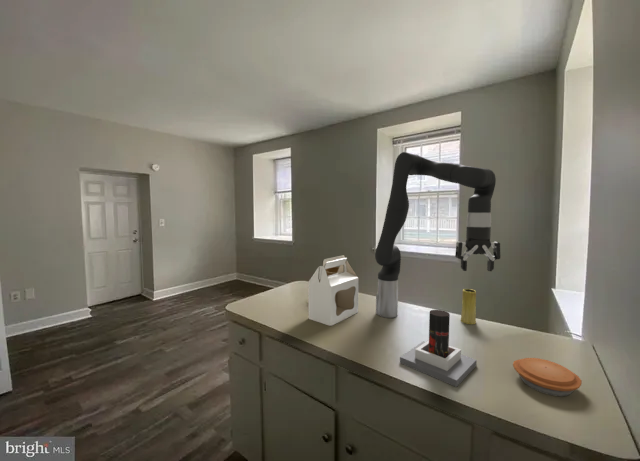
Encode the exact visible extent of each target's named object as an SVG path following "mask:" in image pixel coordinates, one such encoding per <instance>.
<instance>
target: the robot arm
mask: <svg viewBox="0 0 640 461" xmlns="http://www.w3.org/2000/svg"><path fill="white" fill-rule="evenodd" d="M393 168H394V169H393V177H392V185H391V190H390V193H389V199H388V202H387V207H386V212H385V217H384V220H383V221H384V222H383V225H382V230H381V234H380V236H379V240H378V243H377V246H376V249H375V252H374V256H375V258H374V259H375V261H376V263H377V264H378V266H382V267H381V269H380V270H379V272H378V274H377V293H376V294H375V314H376V315H378V316H379V317H382V318H387V319H393V318H396V317H398V307H399V306H398V305H399V304H398V303H399V275H400V273H401V265H402V264H401V260H402V259H401V258H402V254H401V251H400V249H399V247H398V246H397V245H395V241H396V238H397V236H398V235H399V233H400V231H401V229H402V228H403V226H404V225H405V223H406V220H407V217H408V213H409V209H410V201H409V197H408V191H407V184H408V179H409V176H428V177H432V178H434V179H438V180H441V181H445V182H448V183H453V184H458V185H462V186H465V187H468V188H472V189H474V190H473V195H472V196H470V197H469V198H468V203H467V217H466V231H465V232H466V234H465V235H466V236H465V238H466V240H465V241H464V242H463V241H459V240H458V241H456V244H455V254H454V257H455V258H456V259H458V260H460V269H461V270H462V271H464V272H467V269H468V260H467V259H468V258H470V256H472V255H484V256H485V257H486V258H487V261H486V262H487V264H486V266H487V268H486V270H487V272H492V271H493V270H494V269H495V261H497V260H500V259H501V243H500V242H498V241H493V242H491V230H492V229H491V228H492V215H491V211H492V209H491V208H492V198H493V195H494V191H495V188H496V181H497V180H496V179H497V178H496V175H495V172H494V171H493V170H491V169H490V168H484V167H478V166H477V167H476V166H470V165H469V166H468V165H464V164H460V163H454V162H449V161H448V162H447V161H435V160H431V159H429V158H425V157H423V156H421V155H419V154H417V153H413V152H408V151H403V152H400V153H399V154H398V156H397V157H396V159H395V162H394V167H393ZM464 247H466V249H465V250H464V252H463V249H464ZM491 248H492V252H493V254H492V252H491V251H490V249H491ZM462 252H463V254H462Z"/></svg>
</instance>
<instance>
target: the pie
mask: <svg viewBox="0 0 640 461" xmlns="http://www.w3.org/2000/svg"><path fill="white" fill-rule="evenodd" d="M512 367H513V368H514V370H515V371H516V373H517V374H518V376H519V377H520V379H521V380H522V381H523V383H524V384H525V385H527V386H528V387H530V388H531V389H533V390H535V391H537V392H539V393H543V394H546V395H549V396H553V397H554V396H555V397H566V396H570V395H571V394H572V393H573V392H574V391H576V390H578V389H580V388H581V386H582V384H583V383H582V381H583V380H582V379H581V378H580V377H579V376H578V374H576V373H574V372H573V371H572V370H570V369H568V368H567V367H566V366H564V365H561V364H559V363H556V362H553V361H551V360H548V359H543V358H538V357H525V358H520V359H519V358H518V359H516V360H514V361H513V363H512Z"/></svg>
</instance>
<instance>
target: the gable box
mask: <svg viewBox="0 0 640 461" xmlns="http://www.w3.org/2000/svg"><path fill="white" fill-rule="evenodd" d="M347 259H348V257H345V255H343V254H342V255H337V256H332V257H327V258H324V259H322V263H321V265H320V266H318V267H317V268H316V269H315V272H314V273H313V275H312V276H311V278H309V280H308V282H307V285H308V287H307V288H308V295H307V297H308V320H311V321H314V322H317V323H320V324H323V325H327V326H329V327H332V326H334V325H335V324H338V323H340V322H342V321H344V320H346V319H348V318H350V317H351V316H353V315H356V314H357V313H359V276H358V275H357V273H356V271H355V270H354V269H353V267H352V266H351V264H350V262H349V261H348V260H347ZM332 267H339V270H338V272H337V273H336V274H333V275H329V276H327V272H326V269H328V268H332Z"/></svg>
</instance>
